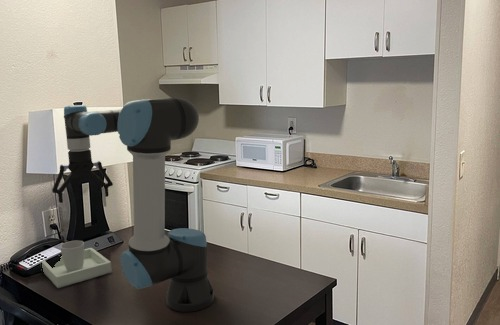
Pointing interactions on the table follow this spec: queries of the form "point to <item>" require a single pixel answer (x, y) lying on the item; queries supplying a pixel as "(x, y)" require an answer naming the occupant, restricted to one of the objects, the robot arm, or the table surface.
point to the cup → (73, 255)
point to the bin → (91, 268)
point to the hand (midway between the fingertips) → (85, 208)
